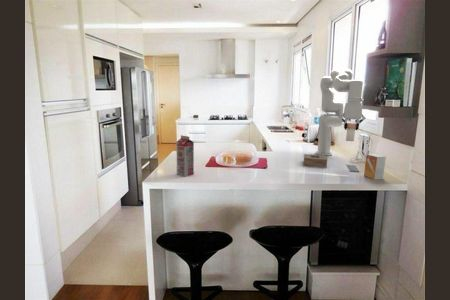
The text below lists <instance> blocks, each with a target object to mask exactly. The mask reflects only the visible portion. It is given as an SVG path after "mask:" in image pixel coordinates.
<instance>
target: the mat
mask: <svg viewBox="0 0 450 300" xmlns="http://www.w3.org/2000/svg"><path fill="white" fill-rule="evenodd" d="M346 168H347V169H348V171H349V172H350V173H351V172H352V173H360V170H359V168H357V166H356V165H355V164H354V165H353V164H346Z"/></svg>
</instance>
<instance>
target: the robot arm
mask: <svg viewBox="0 0 450 300" xmlns="http://www.w3.org/2000/svg"><path fill="white" fill-rule="evenodd" d="M329 74H330V75H328V76H323V77H322V78H321V79H320V85H319V86H320V91H321V112H323V113H324V114H320V116H319V118H318V125H319V126H318V127H319V128H318V129H319V130H318V138H317V139H318V142H317V143H318V144H317V151H315V153H314V155H325V156H326V157H327V156H332V155H333V153H332V152H331V145H332V135H333V132H332V130H331V129H330V127H332V128H333V127H337V128H338V127H342V125H343V129H344V130H346V131H347V123H348V121H349V120H356V123H357V125H356V129H355V131H358V130H359V129H360V128H359V127H360V124H361V123H362V122H364V121H365V120H366V117H365V116H364V115H363V103H362V102H364V101H365V99H364V98H362V93H363V86H364V85H363V84H364V82H363V80H362V79H352V78H353V75H354V74H353V72H352V70H351V69H350V68H335V69H333V70H331V72H330V73H329ZM332 89H334V90H335V91H337V92H339V93H347V101H346V102H345V105H344V104H343V101H342V100H338V99H334V97H335V95H334V92H333V90H332ZM331 113H333V114H331Z"/></svg>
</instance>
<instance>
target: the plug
mask: <svg viewBox="0 0 450 300" xmlns="http://www.w3.org/2000/svg"><path fill="white" fill-rule="evenodd" d="M356 125H357V122H356V123H355V122H347V130H346V137H345V141H346V142H355V134H356V130H355V129H356Z"/></svg>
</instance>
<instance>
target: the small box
mask: <svg viewBox="0 0 450 300" xmlns="http://www.w3.org/2000/svg"><path fill="white" fill-rule="evenodd" d="M386 159H387V156H385V155H381V154H377V153H367V154H366V155H365V165H364V171H363V176H365V177H368V178H370V179H372V180H383V179H384V174H385V165H386Z"/></svg>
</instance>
